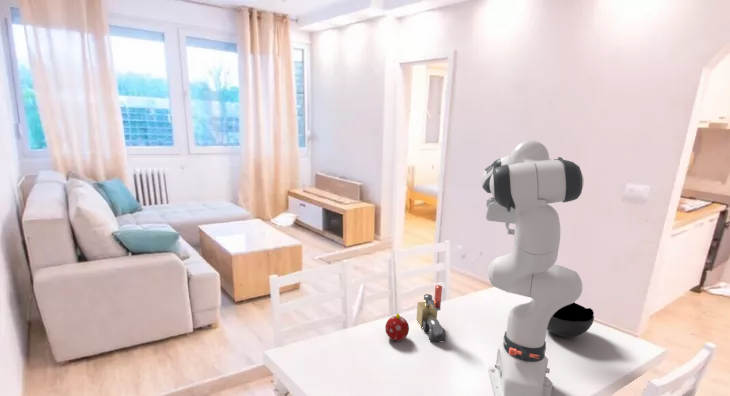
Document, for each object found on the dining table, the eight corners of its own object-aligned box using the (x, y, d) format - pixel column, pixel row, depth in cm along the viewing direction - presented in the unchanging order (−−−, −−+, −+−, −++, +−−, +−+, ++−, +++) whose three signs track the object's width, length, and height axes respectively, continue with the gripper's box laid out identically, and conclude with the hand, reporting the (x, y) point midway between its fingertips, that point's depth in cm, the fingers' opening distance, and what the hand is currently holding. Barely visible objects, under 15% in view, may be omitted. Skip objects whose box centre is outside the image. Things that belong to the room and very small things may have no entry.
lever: (422, 299, 149) (424, 276, 148) (429, 298, 150) (431, 276, 149) (434, 312, 139) (436, 288, 137) (442, 311, 140) (444, 287, 138)
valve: (416, 320, 153) (418, 298, 151) (430, 319, 154) (432, 297, 152) (430, 343, 137) (432, 319, 135) (446, 342, 138) (448, 318, 136)
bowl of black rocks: (581, 325, 155) (588, 282, 151) (597, 352, 136) (605, 304, 132) (529, 316, 160) (534, 275, 156) (537, 342, 141) (543, 295, 137)
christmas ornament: (391, 347, 134) (392, 321, 132) (381, 334, 141) (382, 310, 139) (412, 343, 137) (414, 317, 135) (401, 330, 145) (403, 306, 143)
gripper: (486, 198, 146) (483, 232, 148) (545, 204, 139) (540, 240, 142) (487, 195, 152) (484, 228, 154) (543, 201, 145) (538, 235, 147)
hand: (511, 234), depth 148 cm, fingers closed
